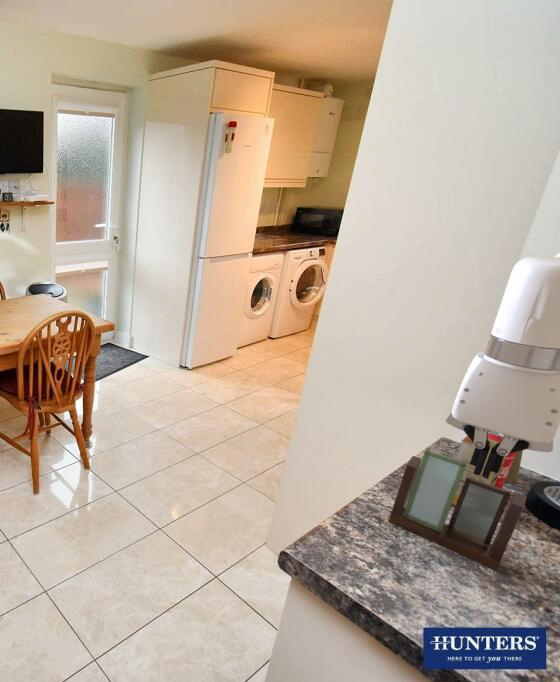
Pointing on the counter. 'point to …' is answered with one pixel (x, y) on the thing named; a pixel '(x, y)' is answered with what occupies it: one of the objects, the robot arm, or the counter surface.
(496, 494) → the window frame
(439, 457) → the window pane
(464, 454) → the shoe polish box
